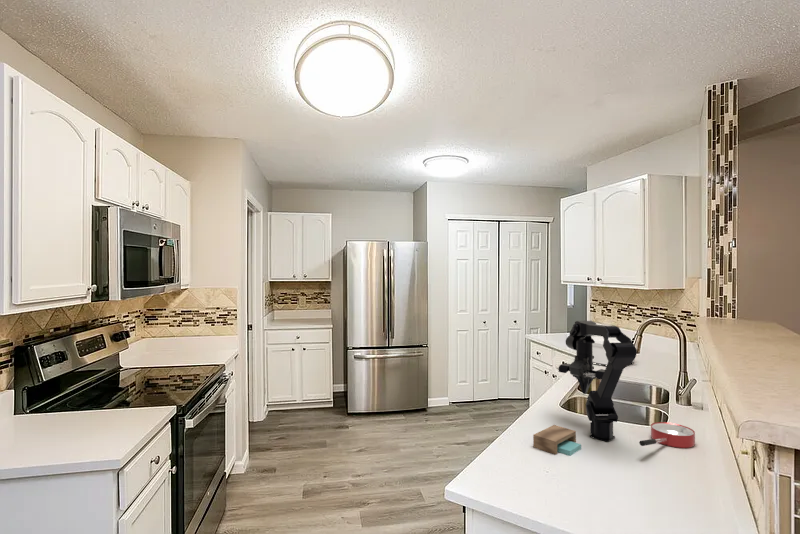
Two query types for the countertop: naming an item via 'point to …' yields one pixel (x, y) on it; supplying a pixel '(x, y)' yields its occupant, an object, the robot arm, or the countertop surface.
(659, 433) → the frying pan
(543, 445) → the overhang
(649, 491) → the countertop surface
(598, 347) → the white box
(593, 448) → the countertop surface
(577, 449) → the teal rectangular slab
